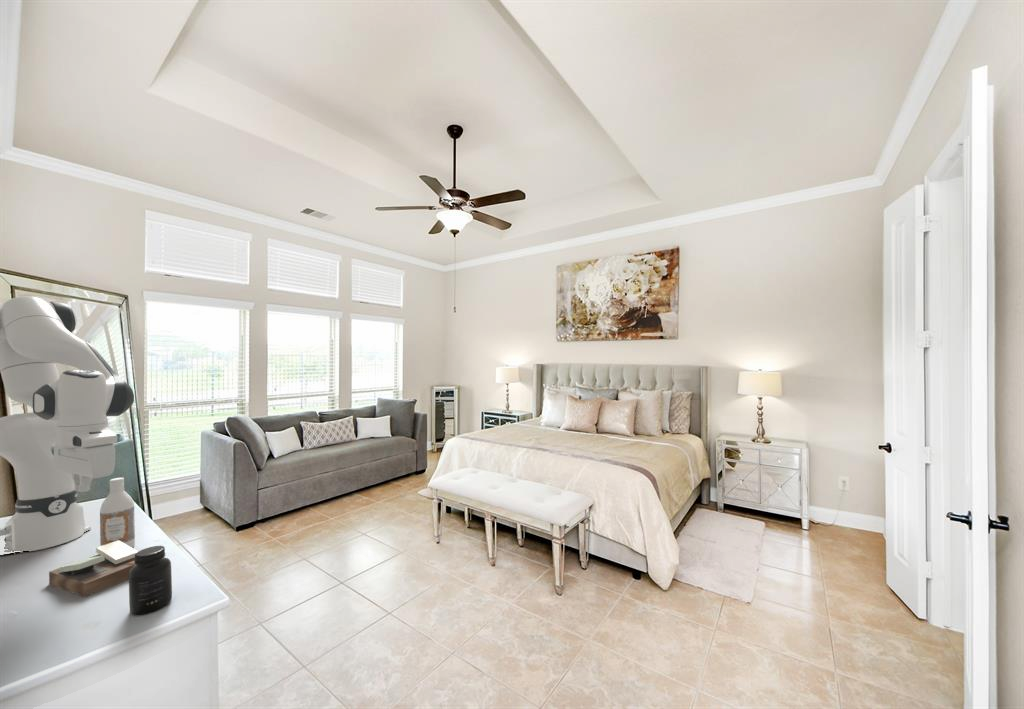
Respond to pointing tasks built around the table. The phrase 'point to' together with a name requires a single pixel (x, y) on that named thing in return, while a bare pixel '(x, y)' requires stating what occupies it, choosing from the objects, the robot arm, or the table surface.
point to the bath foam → (117, 516)
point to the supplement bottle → (150, 581)
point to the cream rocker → (116, 552)
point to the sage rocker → (82, 564)
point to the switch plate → (92, 577)
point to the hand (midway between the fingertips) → (82, 491)
